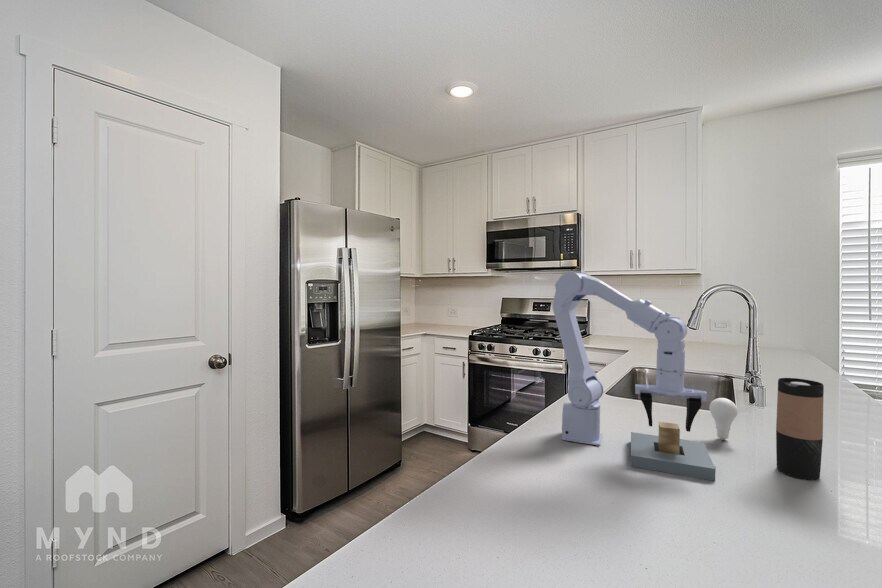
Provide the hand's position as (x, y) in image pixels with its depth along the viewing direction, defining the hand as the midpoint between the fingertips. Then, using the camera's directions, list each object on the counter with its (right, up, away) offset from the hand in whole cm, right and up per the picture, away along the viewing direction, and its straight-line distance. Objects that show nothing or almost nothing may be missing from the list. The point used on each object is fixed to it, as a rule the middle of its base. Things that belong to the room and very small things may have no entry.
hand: (668, 427), depth 97 cm
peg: (0, -8, 0) cm, 8 cm away
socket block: (0, -7, 0) cm, 7 cm away
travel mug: (+24, -8, -7) cm, 27 cm away
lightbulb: (+21, -7, +12) cm, 26 cm away
